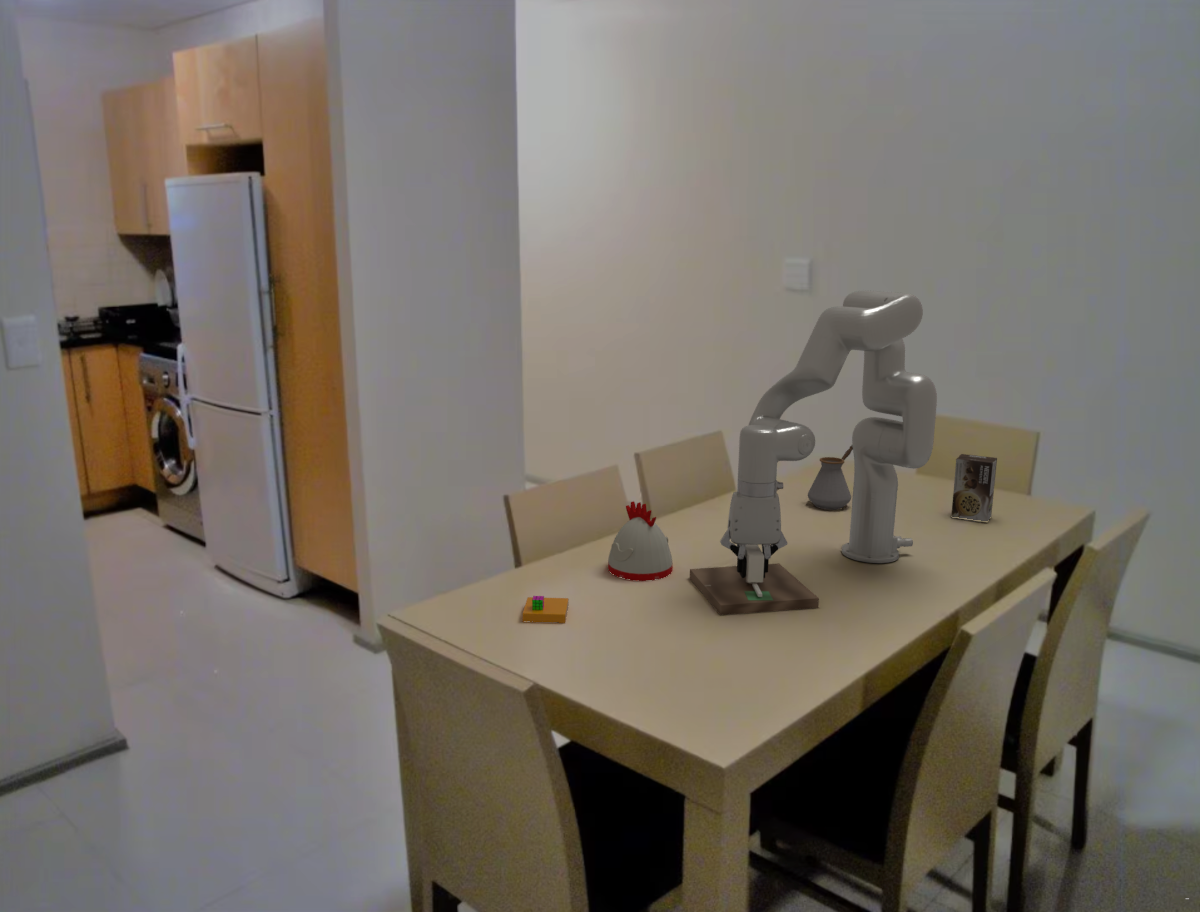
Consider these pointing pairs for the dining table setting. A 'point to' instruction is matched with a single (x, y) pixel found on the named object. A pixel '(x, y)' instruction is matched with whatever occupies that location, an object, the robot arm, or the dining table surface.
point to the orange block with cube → (545, 609)
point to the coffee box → (974, 487)
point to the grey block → (754, 566)
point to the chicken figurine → (640, 548)
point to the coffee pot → (830, 484)
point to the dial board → (752, 590)
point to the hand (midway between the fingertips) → (752, 574)
